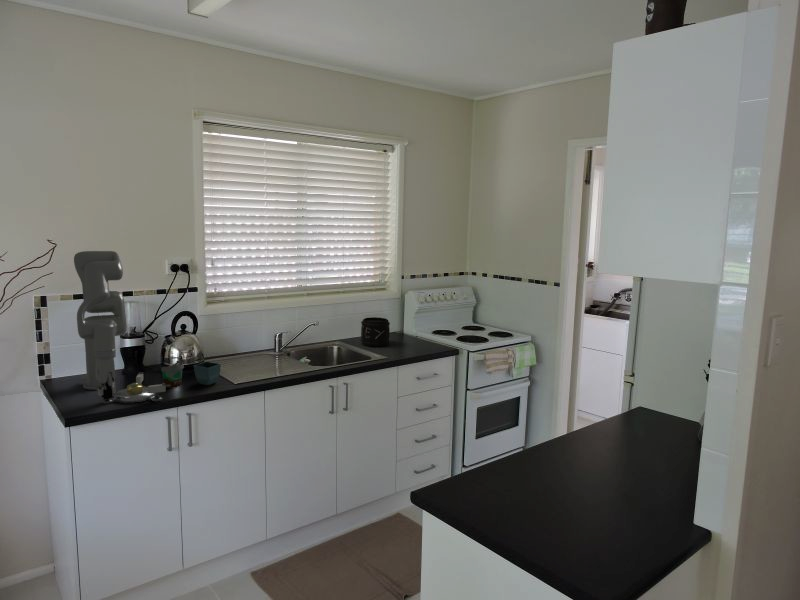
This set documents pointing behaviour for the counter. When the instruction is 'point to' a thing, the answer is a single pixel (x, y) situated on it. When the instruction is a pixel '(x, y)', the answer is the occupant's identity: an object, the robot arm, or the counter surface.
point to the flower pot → (207, 372)
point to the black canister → (375, 332)
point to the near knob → (100, 390)
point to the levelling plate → (132, 395)
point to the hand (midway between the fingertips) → (107, 397)
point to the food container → (172, 374)
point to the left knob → (139, 378)
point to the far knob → (157, 389)
